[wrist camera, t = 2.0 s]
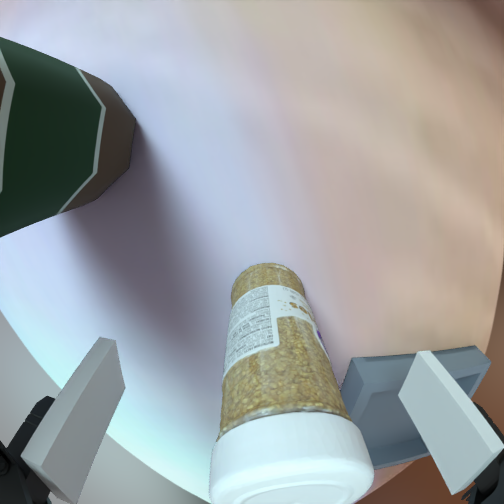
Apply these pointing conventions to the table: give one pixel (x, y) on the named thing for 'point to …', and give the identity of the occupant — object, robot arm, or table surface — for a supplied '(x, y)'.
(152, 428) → the table surface
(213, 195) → the table surface
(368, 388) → the tray
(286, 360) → the sprinkles bottle
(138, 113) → the table surface
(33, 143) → the beer bottle
